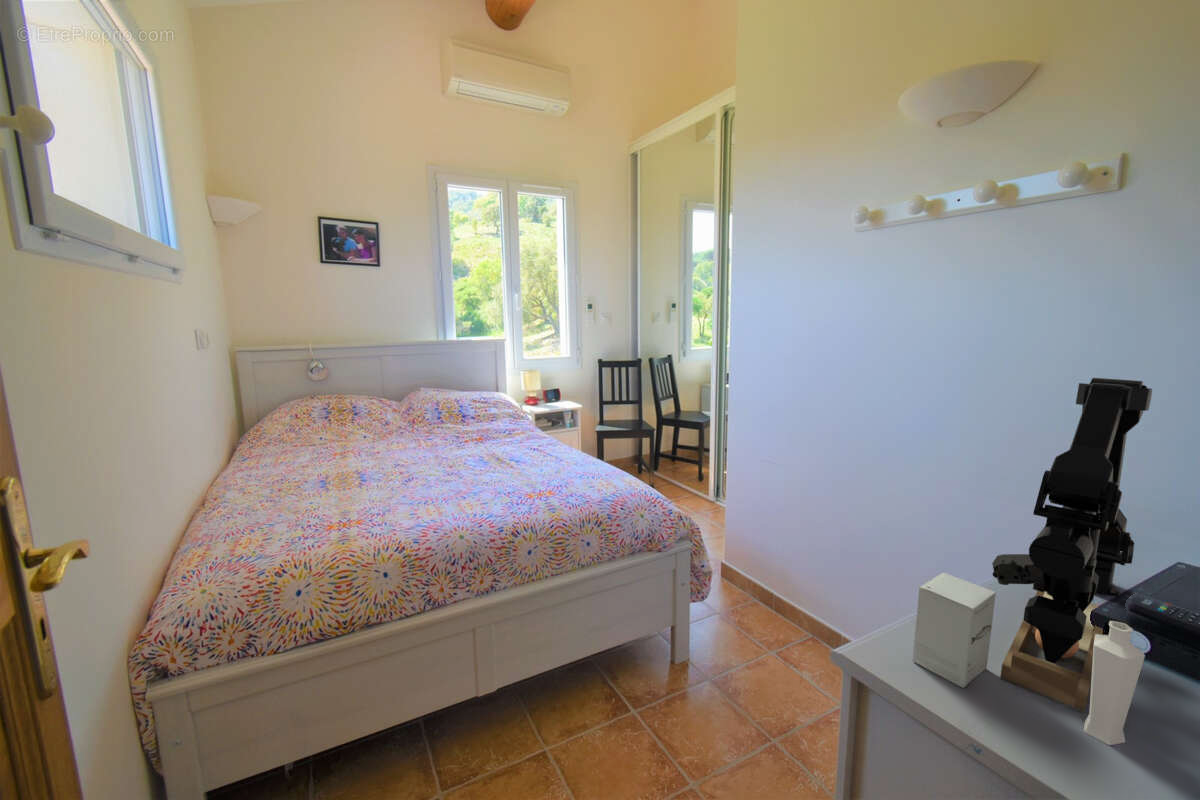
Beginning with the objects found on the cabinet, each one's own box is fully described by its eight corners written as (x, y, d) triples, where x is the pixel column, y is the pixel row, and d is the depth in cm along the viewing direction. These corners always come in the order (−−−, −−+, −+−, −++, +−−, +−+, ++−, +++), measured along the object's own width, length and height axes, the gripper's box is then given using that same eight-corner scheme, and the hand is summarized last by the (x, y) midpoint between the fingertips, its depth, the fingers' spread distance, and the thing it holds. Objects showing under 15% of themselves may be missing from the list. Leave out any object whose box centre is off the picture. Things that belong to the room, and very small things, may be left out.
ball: (1029, 640, 83) (1033, 612, 82) (1070, 649, 81) (1074, 619, 80) (1038, 660, 79) (1042, 630, 78) (1081, 669, 77) (1086, 639, 76)
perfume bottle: (1085, 740, 65) (1102, 632, 63) (1074, 715, 69) (1089, 612, 66) (1135, 754, 63) (1155, 642, 60) (1120, 727, 67) (1139, 621, 64)
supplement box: (964, 690, 74) (973, 609, 72) (910, 661, 80) (916, 585, 78) (988, 669, 78) (997, 591, 76) (935, 642, 84) (942, 570, 82)
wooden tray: (1036, 603, 94) (1039, 579, 93) (1105, 624, 87) (1109, 599, 86) (1000, 680, 76) (1003, 652, 75) (1083, 715, 70) (1088, 684, 69)
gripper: (1014, 516, 89) (1004, 600, 92) (985, 555, 76) (975, 651, 79) (1105, 536, 81) (1090, 628, 84) (1089, 584, 68) (1073, 689, 71)
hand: (1055, 646), depth 80 cm, fingers open, 9 cm apart
